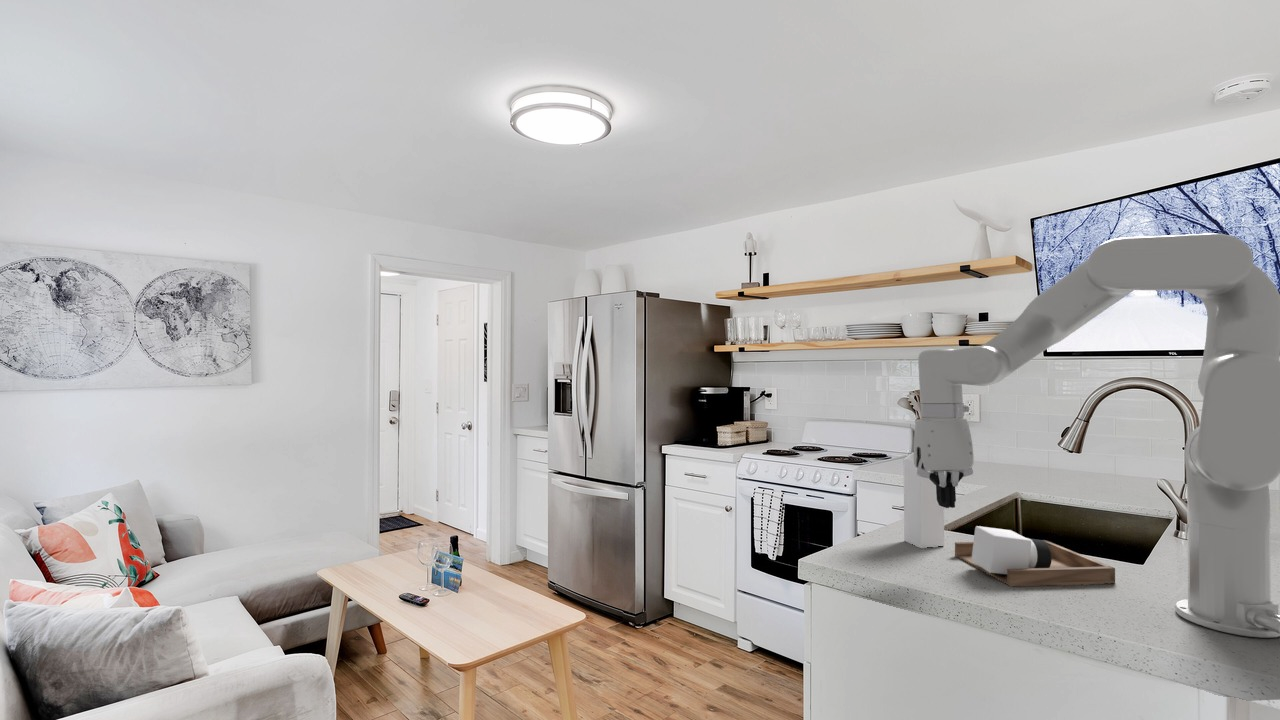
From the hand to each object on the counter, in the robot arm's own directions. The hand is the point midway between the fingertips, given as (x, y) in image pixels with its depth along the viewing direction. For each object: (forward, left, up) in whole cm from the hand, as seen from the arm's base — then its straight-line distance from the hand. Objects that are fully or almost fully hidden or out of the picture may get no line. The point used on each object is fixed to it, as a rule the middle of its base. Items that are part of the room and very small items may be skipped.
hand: (946, 506), depth 122 cm
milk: (+19, -5, -13) cm, 23 cm away
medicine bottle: (-1, -6, -8) cm, 10 cm away
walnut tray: (+1, -17, -13) cm, 22 cm away
